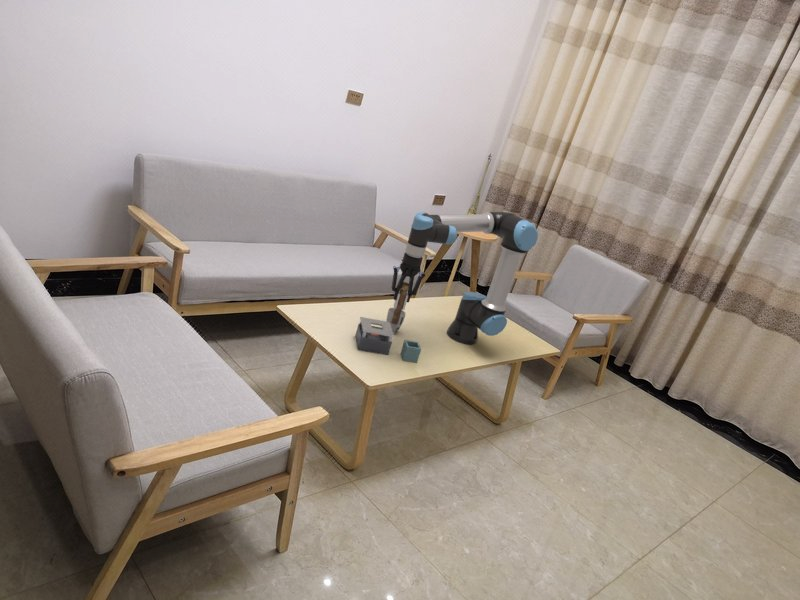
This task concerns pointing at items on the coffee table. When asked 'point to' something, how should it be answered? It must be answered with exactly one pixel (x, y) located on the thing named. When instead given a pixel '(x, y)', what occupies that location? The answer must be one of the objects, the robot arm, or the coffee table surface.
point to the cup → (401, 319)
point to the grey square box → (374, 336)
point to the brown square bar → (400, 303)
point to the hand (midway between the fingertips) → (398, 307)
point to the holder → (410, 351)
